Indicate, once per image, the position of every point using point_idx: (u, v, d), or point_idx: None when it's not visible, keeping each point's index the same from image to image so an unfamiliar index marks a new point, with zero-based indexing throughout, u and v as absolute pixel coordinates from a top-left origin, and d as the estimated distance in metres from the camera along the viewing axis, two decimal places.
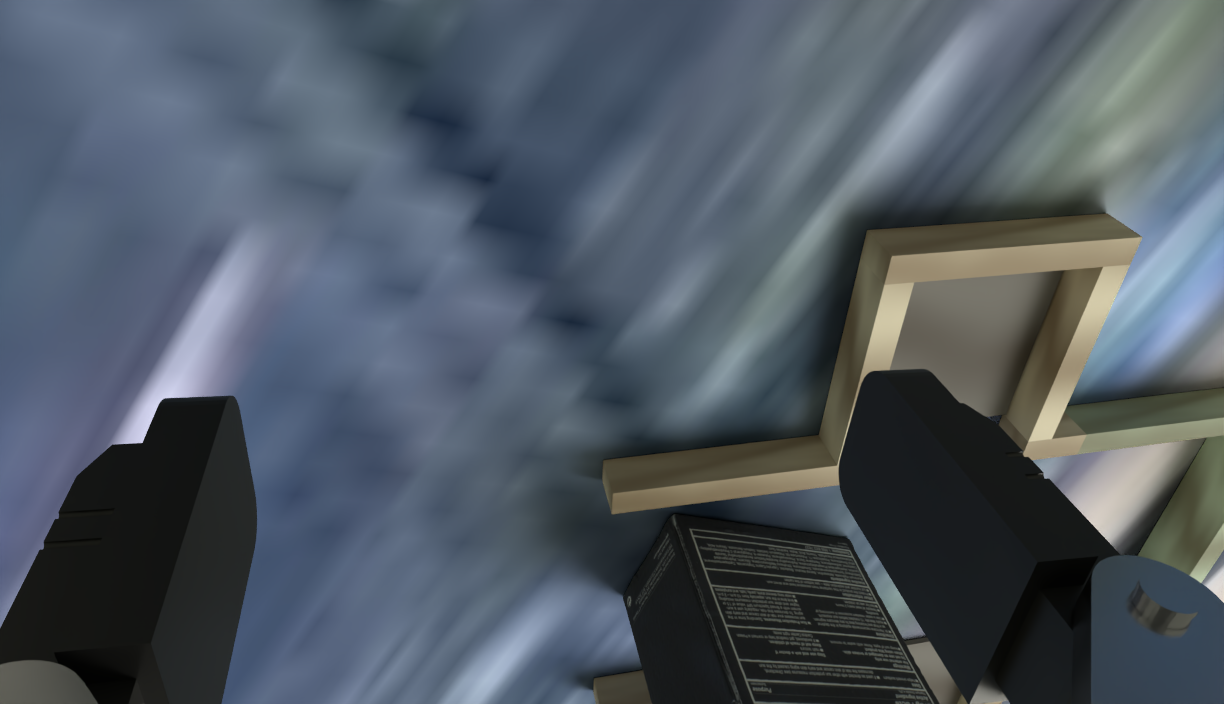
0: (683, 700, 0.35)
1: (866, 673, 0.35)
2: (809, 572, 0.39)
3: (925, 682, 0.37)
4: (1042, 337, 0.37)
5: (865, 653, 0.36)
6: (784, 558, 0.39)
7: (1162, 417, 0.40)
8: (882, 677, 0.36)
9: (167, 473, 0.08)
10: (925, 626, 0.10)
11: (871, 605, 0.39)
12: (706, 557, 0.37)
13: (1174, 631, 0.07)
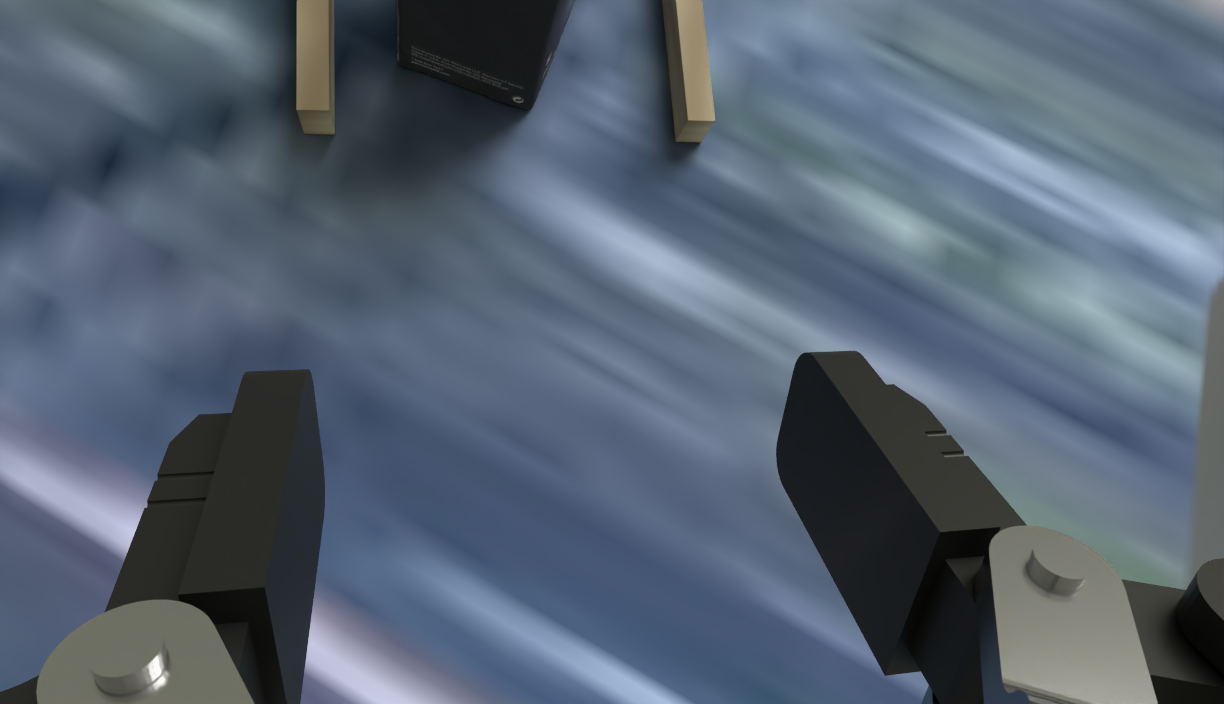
0: None
1: None
2: None
3: None
4: None
5: None
6: None
7: None
8: None
9: (259, 438, 0.09)
10: (849, 600, 0.10)
11: None
12: None
13: (1062, 596, 0.08)
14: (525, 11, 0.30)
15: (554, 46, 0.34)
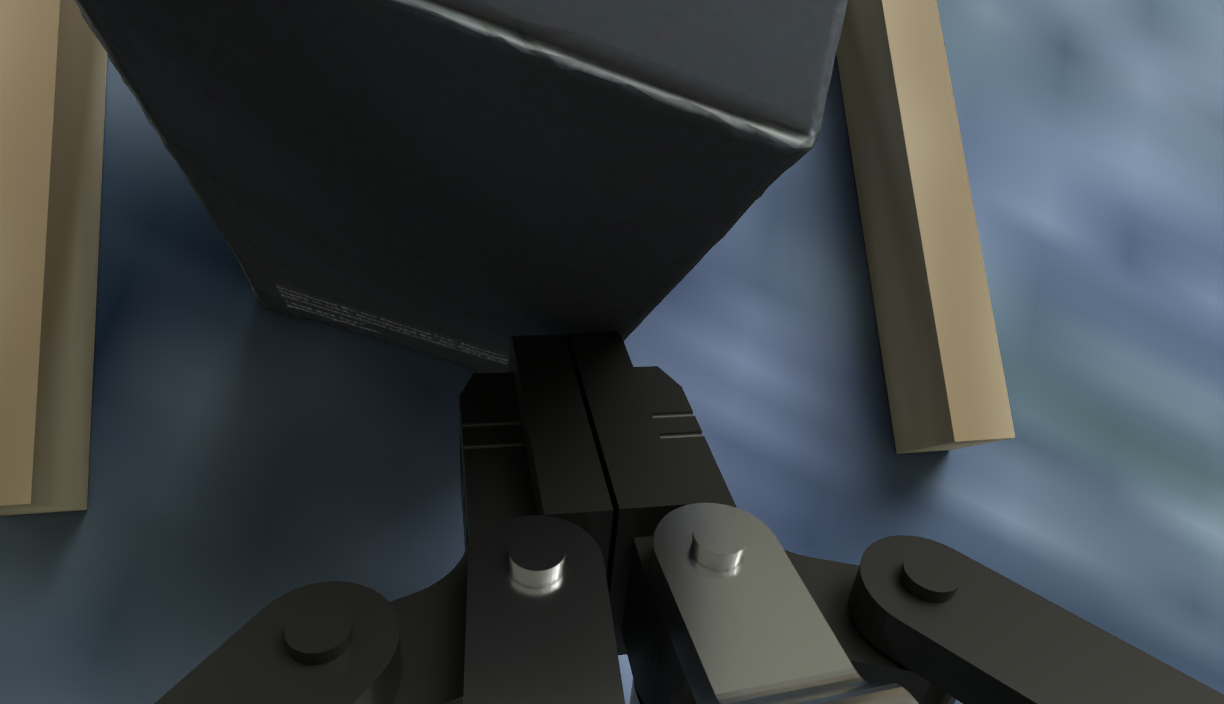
0: (444, 202, 0.09)
1: None
2: None
3: None
4: None
5: None
6: None
7: None
8: None
9: (550, 391, 0.10)
10: None
11: None
12: None
13: (710, 571, 0.08)
14: (589, 267, 0.09)
15: None
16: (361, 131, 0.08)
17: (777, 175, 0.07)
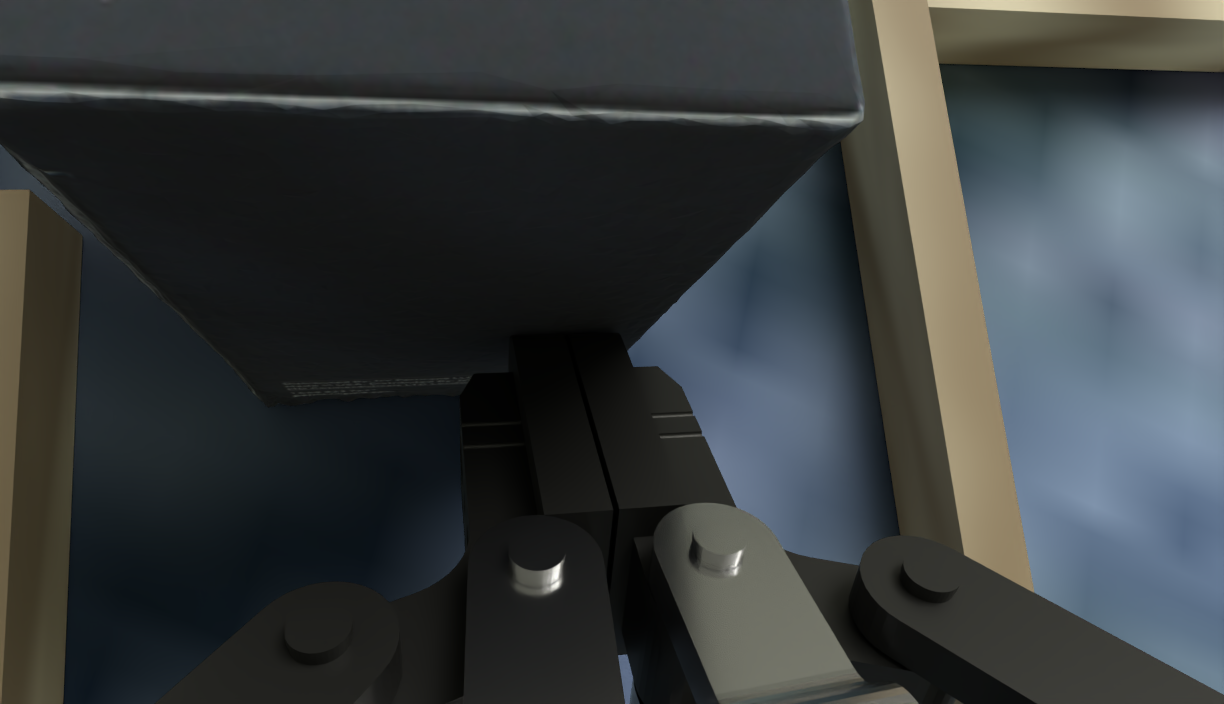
0: (474, 268, 0.08)
1: None
2: None
3: None
4: None
5: None
6: None
7: None
8: None
9: (551, 391, 0.10)
10: None
11: None
12: None
13: (710, 571, 0.08)
14: (624, 279, 0.09)
15: None
16: (390, 232, 0.07)
17: (825, 152, 0.07)
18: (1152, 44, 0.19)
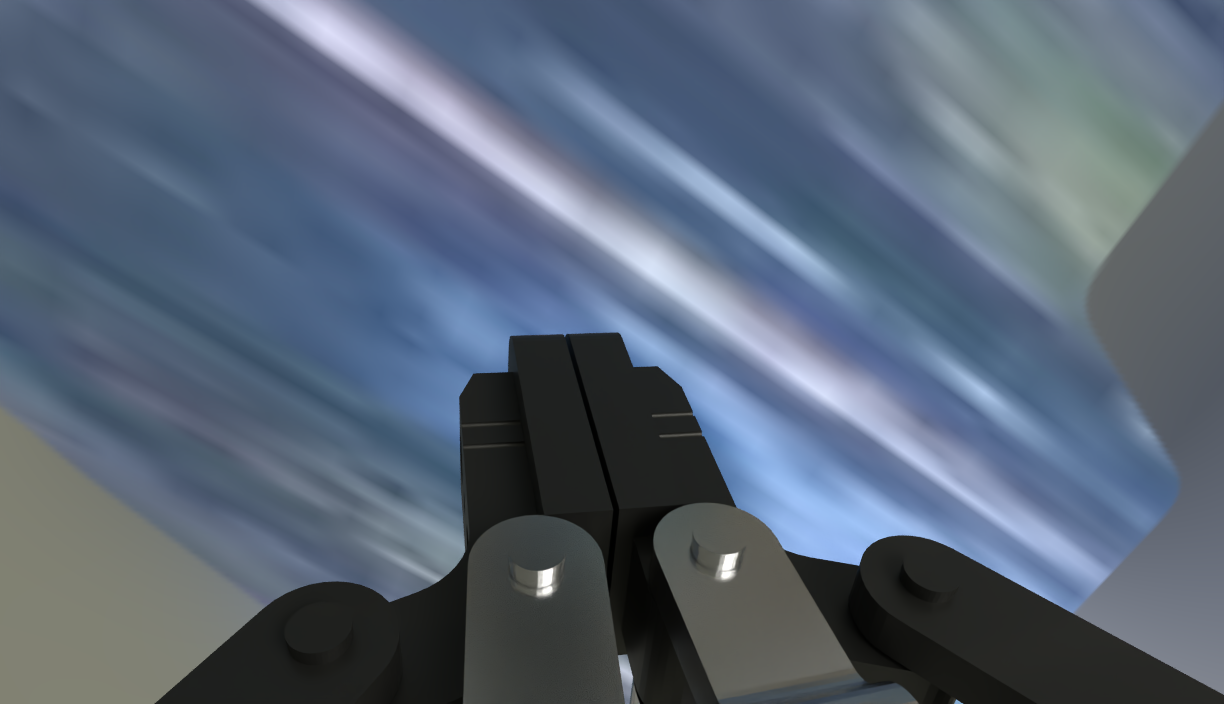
0: None
1: None
2: None
3: None
4: None
5: None
6: None
7: None
8: None
9: (551, 391, 0.10)
10: None
11: None
12: None
13: (711, 571, 0.08)
14: None
15: None
16: None
17: None
18: None
